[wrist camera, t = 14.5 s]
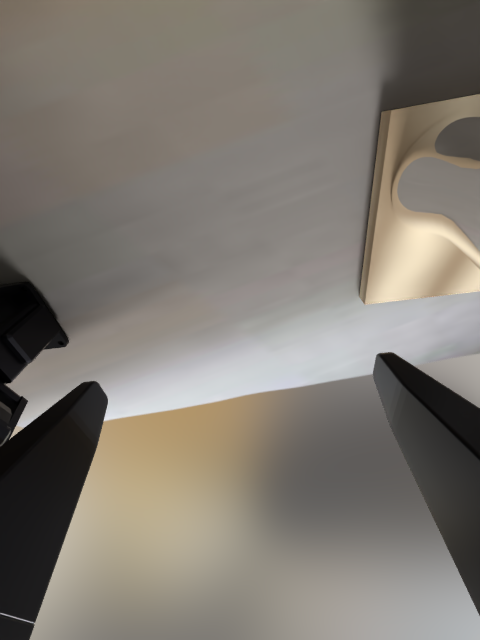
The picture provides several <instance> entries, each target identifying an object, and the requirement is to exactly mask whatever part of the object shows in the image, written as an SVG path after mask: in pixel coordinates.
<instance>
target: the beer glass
mask: <svg viewBox="0 0 480 640" xmlns="http://www.w3.org/2000/svg"><path fill="white" fill-rule="evenodd" d="M392 204H393V208H394V211H395V213H396V215H397V216H398V218H399V219H400V220H401V221H402V222H403V223H404V224H405V225H406V226H408V227H410V228H412V229H414V230H417V231H421V232H425V233H430V234H435V235H439V236H442V237H444V238H446V239H448V240H449V241H451V242H452V243H453V244H454V245H455V246H457V247H458V248H459V249H460V250H461V251H462V252H463V253H464V254H465V255H466V256H467V257H468V258H469V259H470V260H471V262H472V263H473V264H474V265H475V266H476V267H477V268H478V269H479V270H480V112H465V113H460V114H457V115H454V116H451V117H449V118H447V119H445V120H443V121H441V122H439V123H437V124H436V125H434V126H433V127H431V128H430V129H429V130H427V131H426V132H425V133H424V134H423V135H422V136H421V137H419V138H418V139H417V141H416V142H415V143H414V144H413V145H412V146H411V147H410V149H409V150H408V151H407V153H406V154H405V156H404V157H403V159H402V161H401V163H400V165H399V167H398V169H397V171H396V174H395V177H394V181H393V185H392Z"/></svg>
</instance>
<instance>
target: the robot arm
mask: <svg viewBox="0 0 480 640" xmlns="http://www.w3.org/2000/svg"><path fill="white" fill-rule="evenodd" d="M25 288H26V289H27V290H26V289H25ZM68 343H69V340H68V338H67V337H66V335H65V334H64V332H63V331H62V329H61V328H60V326H59V325H58V323H57V322H56V321H55V319H54V318H53V316H52V315H51V313H50V312H49V310H48V309H47V307H46V306H45V304H44V303H43V301H42V300H41V298H40V297H39V295H38V294H37V292H36V291H35V289H34V288H33V286H32V285H31V284H29V283H27V282H19V283H12V284H5V285H0V640H29V639H30V636H31V633H32V630H33V628H34V623H35V621H36V618H37V616H38V613H39V610H40V607H41V605H42V602H43V599H44V596H45V593H46V590H47V588H48V585H49V582H50V579H51V576H52V573H53V570H54V568H55V565H56V562H57V559H58V556H59V553H60V551H61V548H62V545H63V542H64V539H65V536H66V534H67V531H68V528H69V525H70V522H71V520H72V517H73V514H74V511H75V508H76V505H77V503H78V500H79V497H80V494H81V491H82V488H83V486H84V483H85V480H86V477H87V474H88V471H89V469H90V466H91V463H92V460H93V457H94V454H95V451H96V448H97V445H98V441H99V437H100V433H101V429H102V425H103V421H104V417H105V413H106V409H107V404H108V398H107V396H106V394H105V393H104V391H103V390H102V388H101V387H100V385H99V384H98V383H97V382H96V381H90V382H83V383H81V384H80V385H79V386H77V387H76V388H75V389H74V390H72V391H71V392H70V393H68V394H67V395H66V396H65V397H63V398H62V399H61V400H59V401H58V402H57V403H56V404H54V405H53V406H52V407H50V408H49V409H48V410H47V411H45V412H44V413H43V414H41V415H40V416H39V417H38V418H36V419H35V420H34V421H33V422H31V423H30V424H29V425H27V426H26V427H25V428H24V429H22V430H21V431H20V432H18V433H17V434H16V435H15V436H13V437H12V438H11V439H10V437H11V435H12V433H13V431H14V429H15V427H16V425H17V422H18V420H19V418H20V416H21V414H22V412H23V410H24V408H25V406H26V404H27V402H28V400H26V399H25V398H24V397H23V396H21V397H20V396H19V395H18V394H16V393H15V392H14V391H13V390H11V389H10V388H9V387H8V386H6V384H7V383H11V382H12V381H13V380H14V379H15V378H16V377H17V376H18V375H19V374H20V373H21V371H22V370H23V369H24V368H25V367H26V366H27V365H28V364H29V363H31V362H32V361H33V360H34V359H35V358H36V357H37V356H38V355H39V354H40V353H41V351H42V350H43V349H52V348H61V347H66V346H67V344H68ZM373 378H374V381H375V384H376V387H377V390H378V393H379V396H380V399H381V402H382V405H383V408H384V410H385V413H386V416H387V419H388V422H389V425H390V427H391V429H392V432H393V434H394V436H395V438H396V440H397V442H398V445H399V447H400V449H401V451H402V453H403V455H404V457H405V459H406V461H407V464H408V466H409V468H410V470H411V472H412V474H413V476H414V478H415V480H416V482H417V484H418V487H419V489H420V491H421V493H422V495H423V497H424V499H425V501H426V503H427V506H428V508H429V510H430V512H431V514H432V516H433V518H434V520H435V522H436V525H437V527H438V528H439V531H440V533H441V535H442V537H443V539H444V542H445V544H446V546H447V548H448V550H449V552H450V554H451V556H452V558H453V560H454V563H455V565H456V567H457V568H458V571H459V573H460V575H461V577H462V579H463V582H464V584H465V586H466V588H467V590H468V592H469V594H470V596H471V598H472V601H473V603H474V605H475V607H476V609H477V611H478V613H479V615H480V408H478V407H477V406H475V405H474V404H472V403H471V402H469V401H468V400H466V399H464V398H463V397H461V396H460V395H458V394H457V393H455V392H453V391H452V390H450V389H449V388H447V387H446V386H444V385H442V384H441V383H439V382H438V381H436V380H435V379H433V378H432V377H430V376H429V375H427V374H425V373H424V372H422V371H421V370H419V369H418V368H416V367H415V366H413V365H412V364H410V363H408V362H407V361H405V360H404V359H402V358H401V357H399V356H398V355H396V354H394V353H392V352H388V353H379V354H377V356H376V360H375V365H374V370H373ZM9 439H10V440H9Z"/></svg>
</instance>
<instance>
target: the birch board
mask: <svg viewBox="0 0 480 640" xmlns="http://www.w3.org/2000/svg"><path fill="white" fill-rule="evenodd" d="M465 112H480V94H476V95H471V96H465V97H460V98H454V99H449V100H444V101H438V102H433V103H427V104H422V105H416V106H411V107H405V108H400V109H394V110H389V111H383V112H382V113H381V121H380V130H379V138H378V146H377V154H376V163H375V171H374V179H373V187H372V196H371V204H370V212H369V221H368V229H367V237H366V245H365V254H364V262H363V270H362V278H361V287H360V295H359V297H360V298H361V300H362V301H363V303H364V304H365V305H366V304H374V303H383V302H391V301H400V300H408V299H417V298H426V297H434V296H443V295H451V294H460V293H469V292H477V291H480V270H479V269H478V268H477V267H476V266H475V265H474V264H473V263H472V262H471V260H470V259H469V258H468V257H467V256H466V255H465V254H464V253H463V252H462V251H461V250H460V249H459V248H458V247H457V246H455V245H454V244H453V243H452V242H451V241H449V240H448V239H446V238H444V237H442V236H439V235H435V234H430V233H425V232H421V231H417V230H414V229H412V228H410V227H408V226H406V225H405V224H404V223H403V222H402V221H401V220H400V219H399V218H398V216H397V215H396V213H395V211H394V208H393V204H392V185H393V181H394V177H395V174H396V171H397V169H398V167H399V165H400V163H401V161H402V159H403V157H404V156H405V154H406V153H407V151H408V150H409V149H410V147H411V146H412V145H413V144H414V143H415V142H416V141H417V139H418V138H419V137H421V136H422V135H423V134H424V133H425V132H426V131H427V130H429V129H430V128H431V127H433V126H434V125H436V124H437V123H439V122H441V121H443V120H445V119H447V118H449V117H451V116H454V115H457V114H460V113H465Z"/></svg>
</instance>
